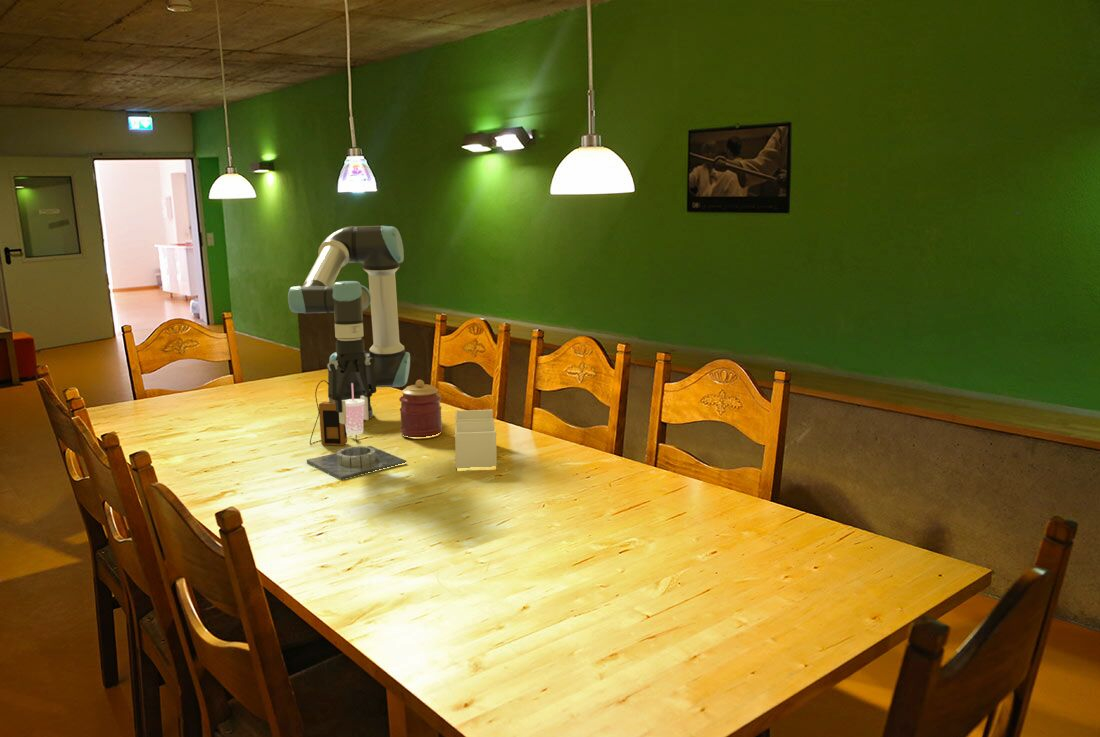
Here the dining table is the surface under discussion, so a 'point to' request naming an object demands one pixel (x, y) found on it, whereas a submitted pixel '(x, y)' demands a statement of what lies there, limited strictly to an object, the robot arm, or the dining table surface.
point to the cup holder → (355, 461)
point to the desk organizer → (475, 439)
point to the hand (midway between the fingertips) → (354, 421)
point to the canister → (420, 410)
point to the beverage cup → (354, 415)
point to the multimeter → (331, 424)
